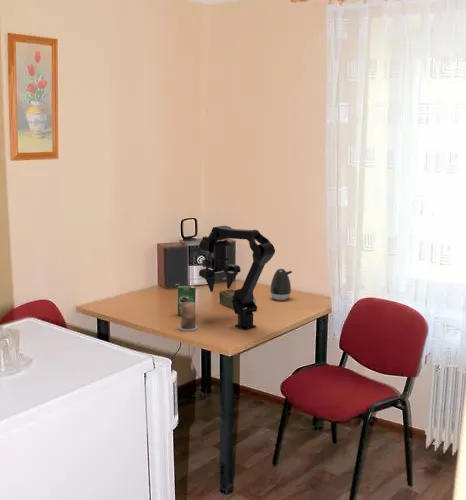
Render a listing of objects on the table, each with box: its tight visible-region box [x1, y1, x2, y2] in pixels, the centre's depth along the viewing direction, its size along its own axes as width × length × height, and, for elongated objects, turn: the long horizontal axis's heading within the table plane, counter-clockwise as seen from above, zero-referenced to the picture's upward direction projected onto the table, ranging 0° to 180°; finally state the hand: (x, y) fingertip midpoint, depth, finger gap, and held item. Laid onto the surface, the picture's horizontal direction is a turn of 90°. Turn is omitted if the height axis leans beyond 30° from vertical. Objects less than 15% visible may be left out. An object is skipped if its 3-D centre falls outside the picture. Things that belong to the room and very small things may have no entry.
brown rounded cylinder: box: [180, 302, 197, 329], centre depth 260 cm, size 6×6×10 cm
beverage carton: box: [219, 289, 257, 310], centre depth 291 cm, size 8×19×7 cm, turn 35°
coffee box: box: [177, 285, 196, 316], centre depth 277 cm, size 8×3×13 cm, turn 93°
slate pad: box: [178, 324, 199, 332], centre depth 261 cm, size 8×8×1 cm
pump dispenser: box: [269, 268, 293, 301], centre depth 303 cm, size 10×10×15 cm
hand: (220, 290), depth 270 cm, fingers open, 9 cm apart
